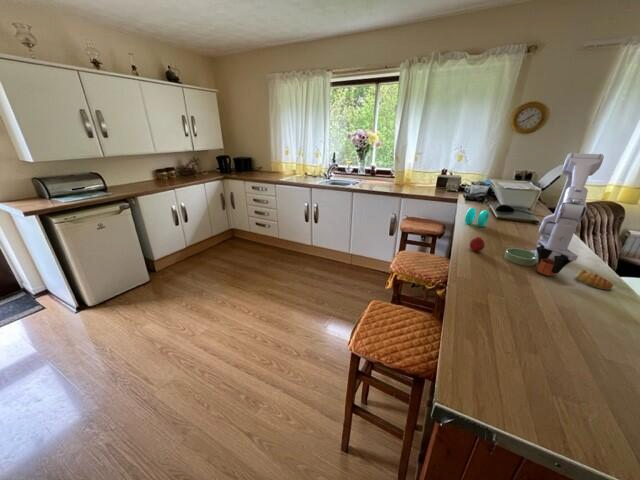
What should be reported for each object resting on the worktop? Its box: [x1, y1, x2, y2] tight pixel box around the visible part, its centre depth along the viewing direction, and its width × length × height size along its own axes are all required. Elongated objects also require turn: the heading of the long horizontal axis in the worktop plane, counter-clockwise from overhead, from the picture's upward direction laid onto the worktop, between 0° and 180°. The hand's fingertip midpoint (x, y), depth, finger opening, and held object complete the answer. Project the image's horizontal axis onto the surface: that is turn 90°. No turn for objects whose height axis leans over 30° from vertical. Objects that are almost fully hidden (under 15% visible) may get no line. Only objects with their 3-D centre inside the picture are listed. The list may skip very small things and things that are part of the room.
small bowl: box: [536, 258, 558, 277], centre depth 97 cm, size 6×6×4 cm
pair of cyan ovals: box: [464, 207, 490, 228], centre depth 150 cm, size 10×10×10 cm
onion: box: [469, 235, 486, 253], centre depth 116 cm, size 6×6×8 cm
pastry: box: [574, 269, 614, 291], centre depth 92 cm, size 9×7×4 cm
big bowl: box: [503, 247, 538, 267], centre depth 109 cm, size 11×11×4 cm
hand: (547, 268), depth 98 cm, fingers closed on small bowl, 5 cm apart
